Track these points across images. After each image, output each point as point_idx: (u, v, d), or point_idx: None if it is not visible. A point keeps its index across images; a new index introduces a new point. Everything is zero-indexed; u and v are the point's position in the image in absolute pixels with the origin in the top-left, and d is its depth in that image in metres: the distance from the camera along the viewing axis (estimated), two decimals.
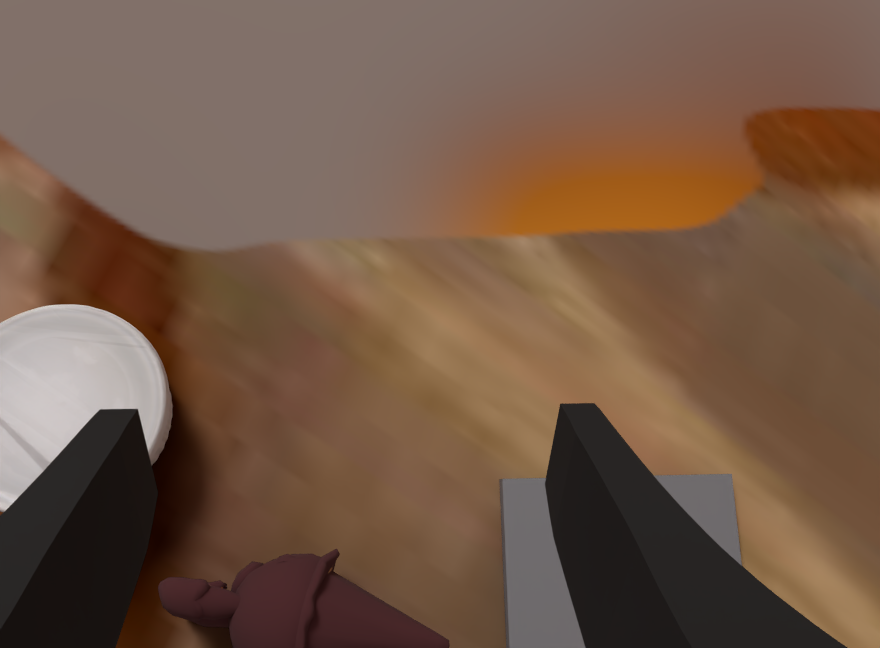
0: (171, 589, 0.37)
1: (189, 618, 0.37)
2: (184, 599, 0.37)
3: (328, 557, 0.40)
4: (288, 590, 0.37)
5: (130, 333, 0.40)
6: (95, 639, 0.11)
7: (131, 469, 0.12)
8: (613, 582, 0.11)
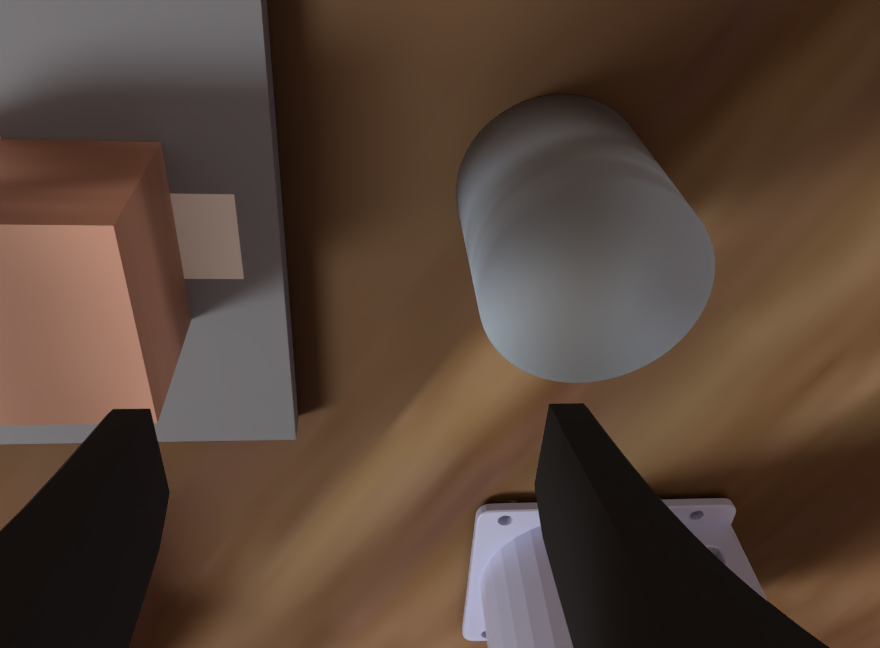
0: None
1: None
2: None
3: None
4: None
5: None
6: (109, 639, 0.11)
7: (144, 469, 0.12)
8: (599, 583, 0.11)
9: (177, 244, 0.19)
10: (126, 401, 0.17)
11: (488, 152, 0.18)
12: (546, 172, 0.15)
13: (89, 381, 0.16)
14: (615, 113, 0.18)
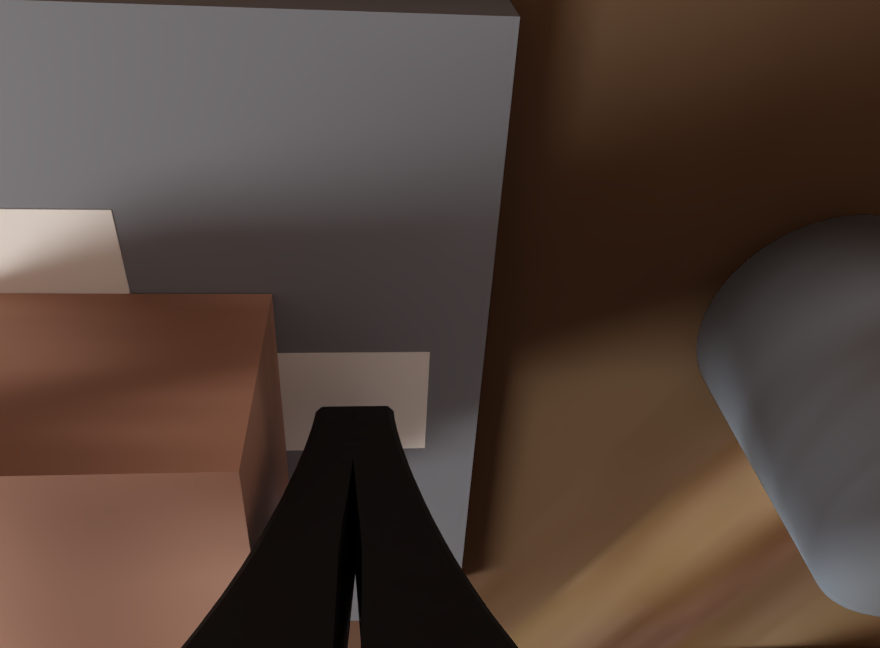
0: None
1: None
2: None
3: None
4: None
5: None
6: (344, 629, 0.11)
7: None
8: None
9: (281, 414, 0.14)
10: None
11: (780, 301, 0.13)
12: None
13: (182, 645, 0.11)
14: None
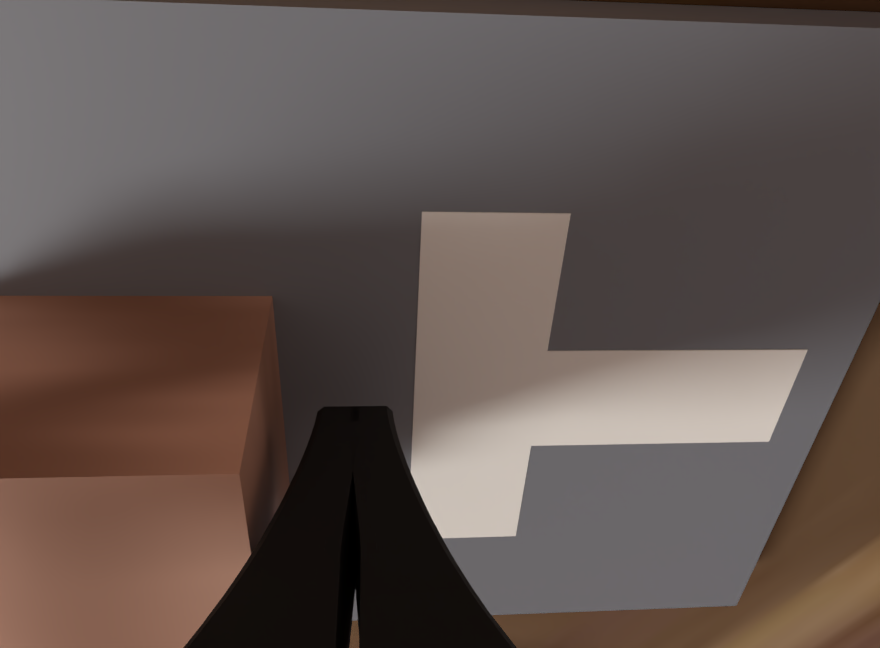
0: None
1: None
2: None
3: None
4: None
5: None
6: (346, 630, 0.11)
7: None
8: None
9: (282, 415, 0.14)
10: None
11: None
12: None
13: None
14: None
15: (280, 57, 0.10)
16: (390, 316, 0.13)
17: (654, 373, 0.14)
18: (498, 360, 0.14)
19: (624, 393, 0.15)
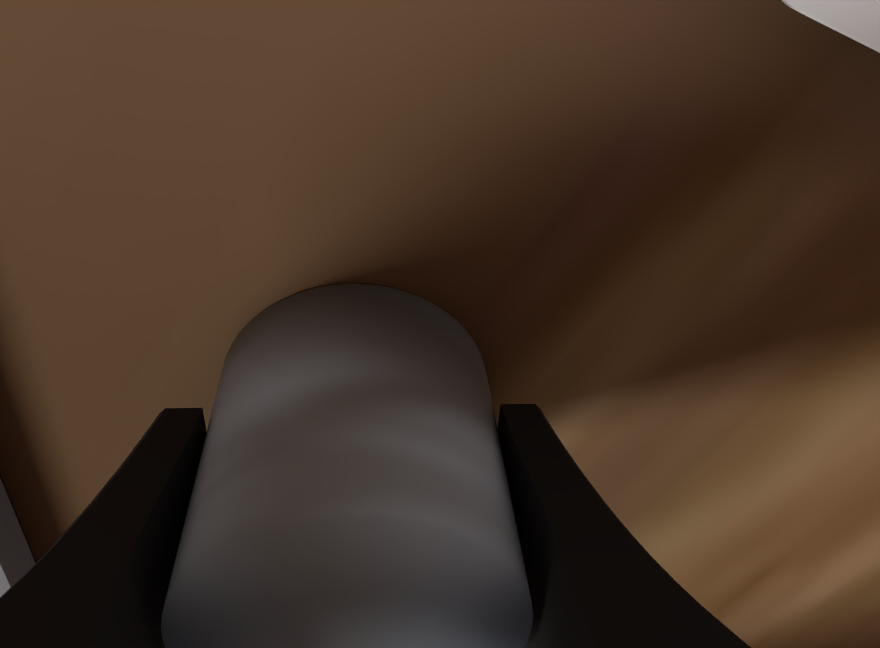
0: None
1: None
2: None
3: None
4: None
5: None
6: None
7: (197, 468, 0.12)
8: (541, 585, 0.11)
9: None
10: None
11: (230, 381, 0.12)
12: (259, 467, 0.10)
13: None
14: (427, 311, 0.13)
15: None
16: None
17: None
18: None
19: None
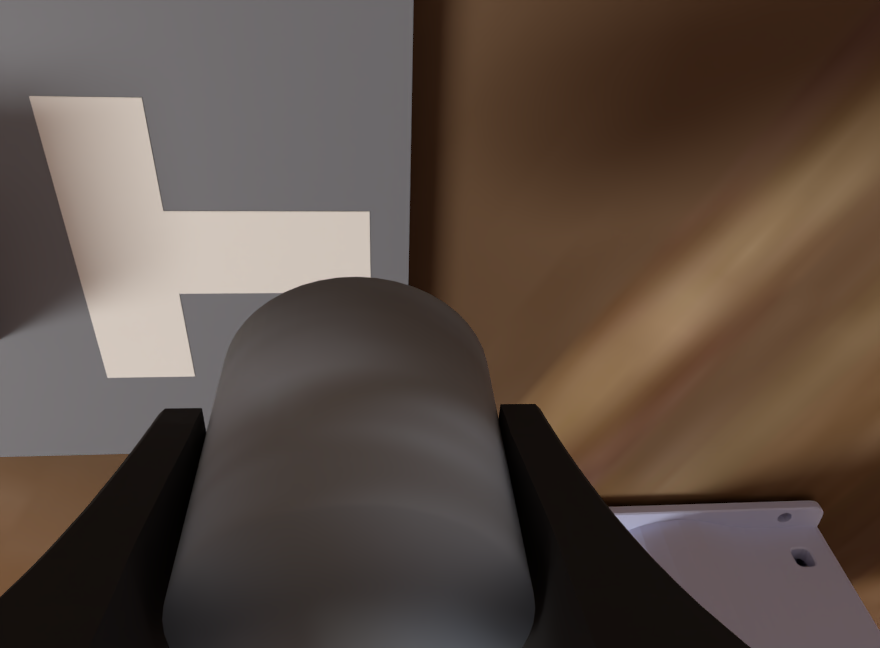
0: None
1: None
2: None
3: None
4: None
5: None
6: None
7: None
8: (541, 585, 0.11)
9: None
10: None
11: (232, 373, 0.12)
12: (263, 458, 0.10)
13: None
14: (430, 305, 0.13)
15: None
16: (32, 181, 0.18)
17: (254, 230, 0.19)
18: (127, 218, 0.18)
19: (238, 249, 0.19)
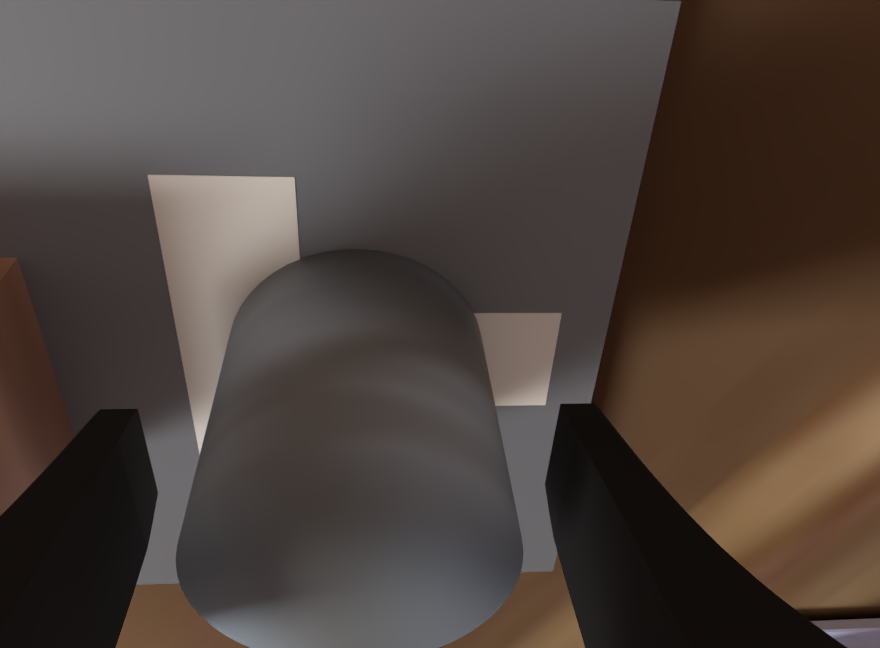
0: None
1: None
2: None
3: None
4: None
5: None
6: (95, 639, 0.11)
7: (131, 469, 0.12)
8: (613, 582, 0.11)
9: (53, 376, 0.15)
10: None
11: (239, 339, 0.13)
12: (269, 409, 0.10)
13: None
14: (426, 276, 0.14)
15: None
16: (140, 278, 0.14)
17: None
18: None
19: None
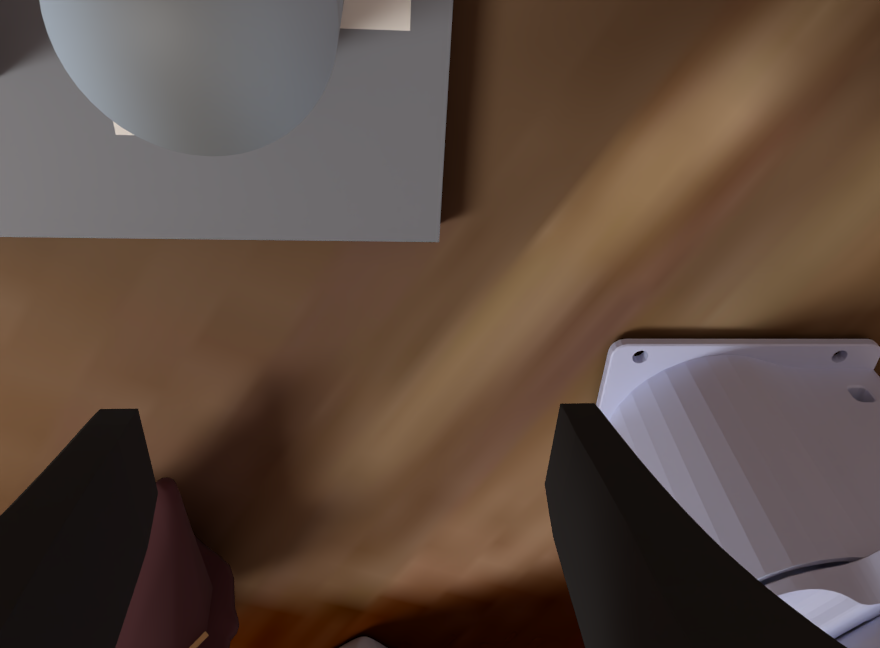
0: None
1: None
2: None
3: None
4: None
5: None
6: (95, 639, 0.11)
7: (131, 469, 0.12)
8: (613, 582, 0.11)
9: None
10: None
11: None
12: None
13: None
14: None
15: None
16: None
17: None
18: None
19: None
